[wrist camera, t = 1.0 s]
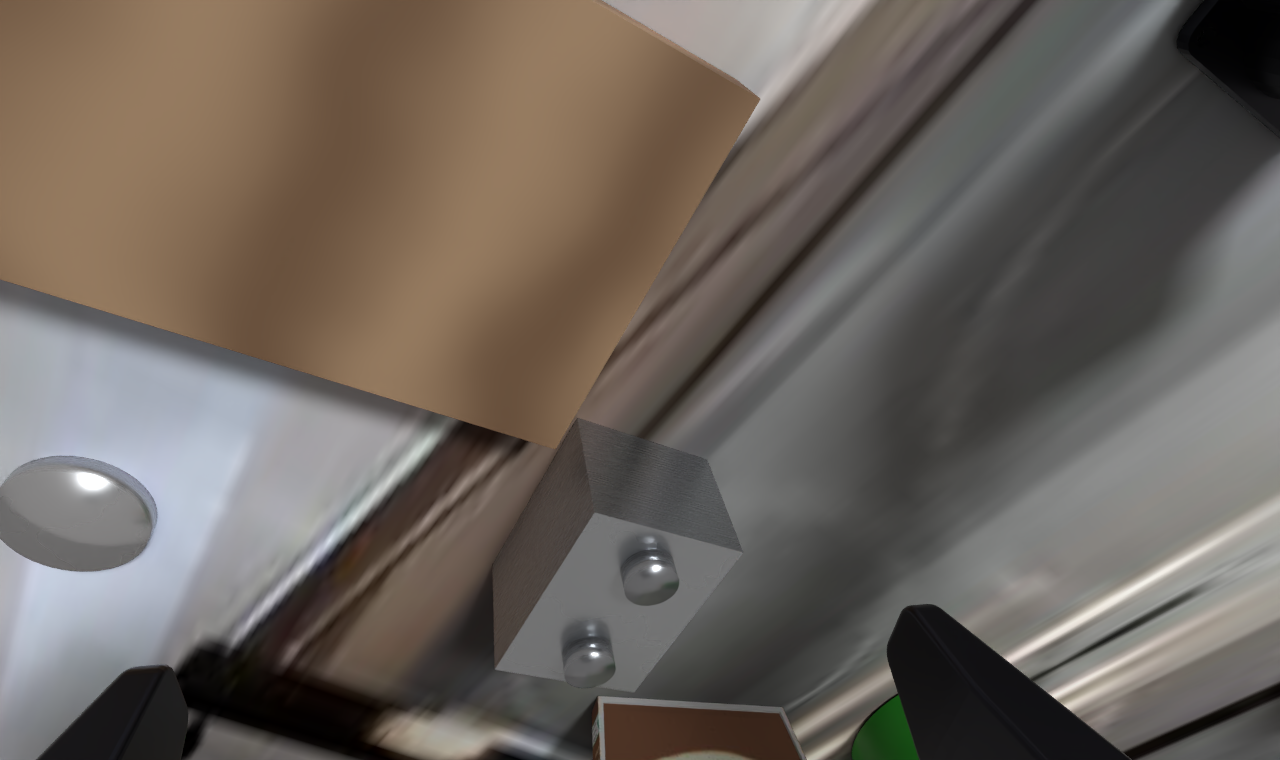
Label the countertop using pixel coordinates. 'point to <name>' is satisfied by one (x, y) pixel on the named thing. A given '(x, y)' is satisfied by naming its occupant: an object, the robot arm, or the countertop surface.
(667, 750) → the food container
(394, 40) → the stand
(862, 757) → the soap dispenser
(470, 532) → the countertop surface
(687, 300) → the countertop surface
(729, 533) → the block
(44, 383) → the countertop surface
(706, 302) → the countertop surface
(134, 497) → the silver domed disc
